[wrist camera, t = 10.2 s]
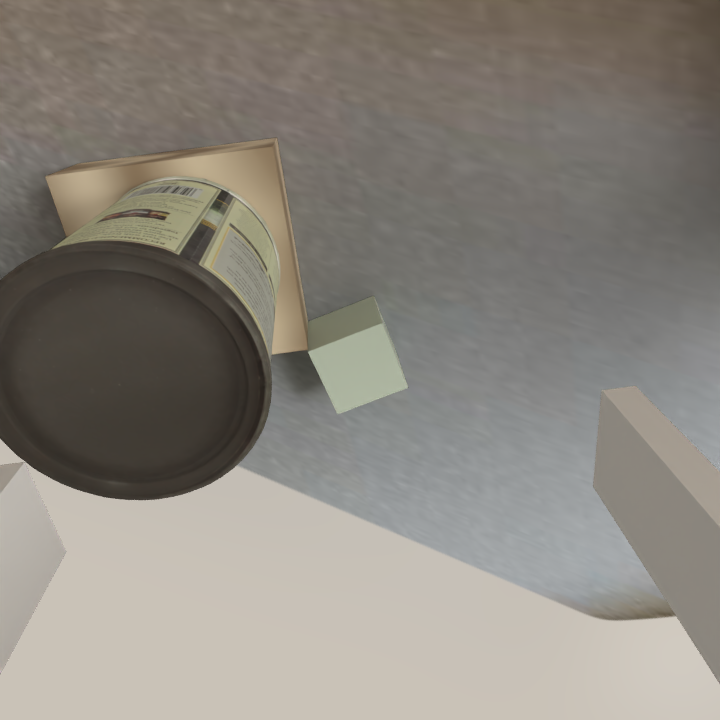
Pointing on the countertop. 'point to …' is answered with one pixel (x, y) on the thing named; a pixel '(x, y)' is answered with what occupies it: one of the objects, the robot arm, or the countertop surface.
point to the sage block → (355, 355)
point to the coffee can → (142, 343)
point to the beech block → (214, 163)
